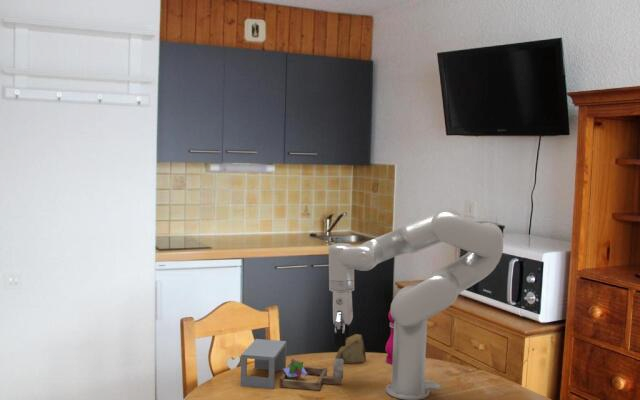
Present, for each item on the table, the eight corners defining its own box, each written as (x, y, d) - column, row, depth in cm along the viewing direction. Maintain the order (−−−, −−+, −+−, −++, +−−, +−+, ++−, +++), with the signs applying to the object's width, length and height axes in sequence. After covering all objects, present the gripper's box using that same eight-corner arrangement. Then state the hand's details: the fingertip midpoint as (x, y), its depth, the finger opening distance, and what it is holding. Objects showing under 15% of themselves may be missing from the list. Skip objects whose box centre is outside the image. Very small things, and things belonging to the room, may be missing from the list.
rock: (331, 359, 222) (361, 357, 219) (332, 334, 226) (361, 333, 224) (338, 370, 230) (367, 369, 228) (339, 346, 235) (367, 345, 233)
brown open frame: (345, 376, 211) (346, 353, 211) (339, 391, 198) (340, 367, 197) (289, 371, 214) (289, 349, 214) (279, 386, 200) (280, 362, 200)
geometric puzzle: (313, 378, 203) (306, 353, 207) (292, 381, 200) (286, 356, 203) (304, 386, 208) (297, 361, 212) (284, 389, 205) (277, 364, 209)
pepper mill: (405, 366, 224) (407, 306, 222) (383, 364, 225) (386, 305, 223) (407, 359, 231) (409, 302, 229) (386, 357, 232) (388, 300, 230)
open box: (285, 370, 216) (286, 341, 215) (273, 388, 199) (274, 357, 199) (255, 367, 218) (255, 338, 217) (240, 385, 201) (241, 354, 200)
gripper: (350, 291, 193) (351, 350, 194) (357, 279, 210) (357, 334, 211) (324, 290, 194) (325, 349, 196) (333, 279, 211) (334, 333, 213)
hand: (342, 341), depth 203 cm, fingers open, 9 cm apart
